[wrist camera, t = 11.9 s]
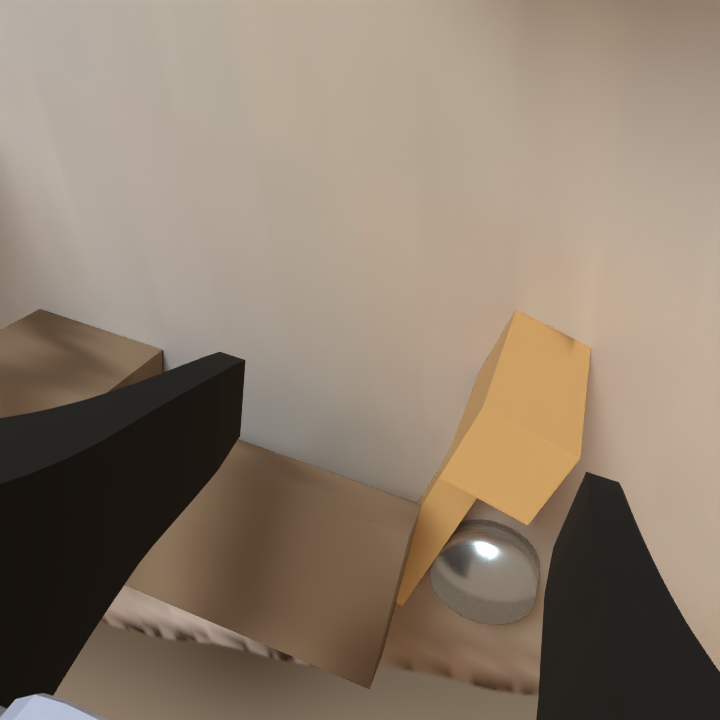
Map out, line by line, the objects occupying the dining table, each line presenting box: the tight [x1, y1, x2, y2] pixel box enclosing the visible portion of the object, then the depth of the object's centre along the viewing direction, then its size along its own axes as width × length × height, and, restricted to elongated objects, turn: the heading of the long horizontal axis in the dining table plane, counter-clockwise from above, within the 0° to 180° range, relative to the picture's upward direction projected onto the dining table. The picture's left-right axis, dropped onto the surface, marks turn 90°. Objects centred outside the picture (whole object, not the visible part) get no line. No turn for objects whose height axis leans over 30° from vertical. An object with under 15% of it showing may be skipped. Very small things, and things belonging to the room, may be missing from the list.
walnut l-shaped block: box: [0, 309, 422, 689], centre depth 26 cm, size 18×8×5 cm, turn 81°
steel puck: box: [430, 520, 540, 625], centre depth 26 cm, size 4×4×2 cm
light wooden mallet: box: [396, 310, 591, 606], centre depth 22 cm, size 3×13×6 cm, turn 159°
